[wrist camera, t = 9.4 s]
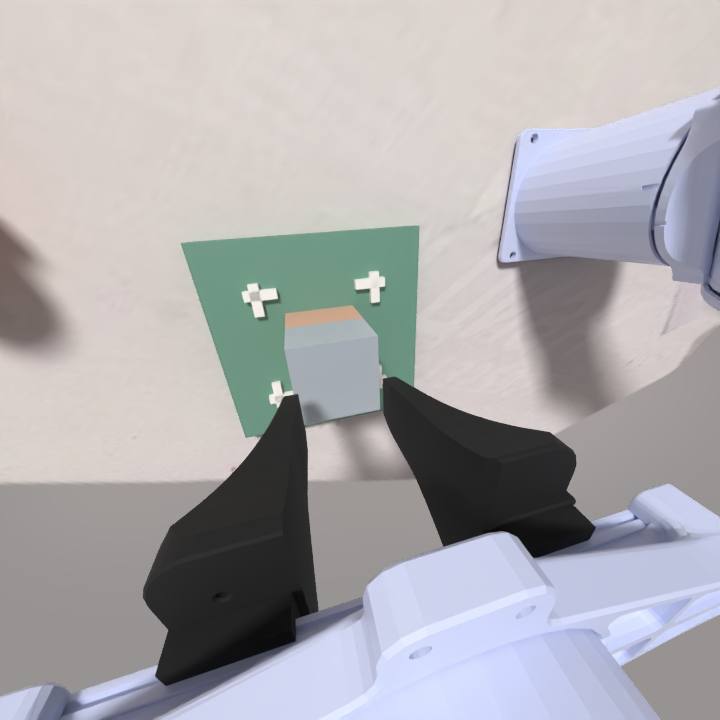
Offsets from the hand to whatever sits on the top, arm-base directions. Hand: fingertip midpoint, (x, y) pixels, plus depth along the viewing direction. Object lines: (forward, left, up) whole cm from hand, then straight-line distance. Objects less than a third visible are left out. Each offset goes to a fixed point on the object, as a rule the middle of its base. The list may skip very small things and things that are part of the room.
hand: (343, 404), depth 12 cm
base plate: (0, 0, -9) cm, 9 cm away
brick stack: (0, 0, -8) cm, 8 cm away
